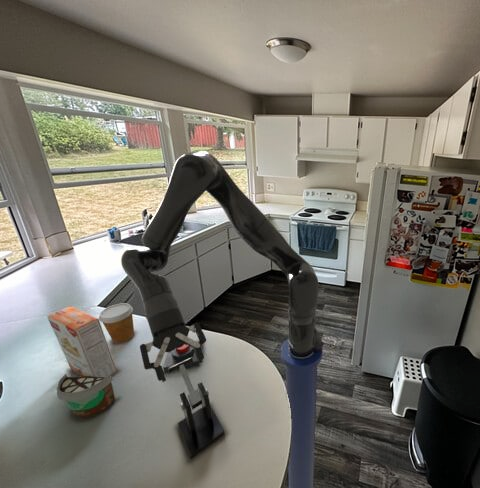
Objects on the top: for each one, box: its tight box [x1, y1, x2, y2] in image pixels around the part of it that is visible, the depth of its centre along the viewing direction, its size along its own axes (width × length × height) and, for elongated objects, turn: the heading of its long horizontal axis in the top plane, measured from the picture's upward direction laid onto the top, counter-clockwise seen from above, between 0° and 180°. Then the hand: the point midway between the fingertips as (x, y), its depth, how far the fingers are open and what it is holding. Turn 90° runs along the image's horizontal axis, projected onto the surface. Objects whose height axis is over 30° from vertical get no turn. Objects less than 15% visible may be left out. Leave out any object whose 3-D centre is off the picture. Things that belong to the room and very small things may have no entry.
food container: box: [56, 373, 116, 420], centre depth 65 cm, size 12×6×10 cm, turn 92°
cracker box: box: [47, 305, 118, 377], centre depth 75 cm, size 14×6×21 cm, turn 67°
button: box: [177, 344, 189, 353], centre depth 83 cm, size 4×4×2 cm
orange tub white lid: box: [98, 302, 135, 344], centre depth 91 cm, size 10×10×12 cm
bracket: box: [177, 381, 226, 460], centre depth 61 cm, size 10×8×13 cm
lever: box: [168, 357, 202, 411], centre depth 62 cm, size 12×6×2 cm, turn 44°
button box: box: [162, 339, 204, 374], centre depth 84 cm, size 10×10×4 cm
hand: (183, 371), depth 64 cm, fingers open, 8 cm apart
